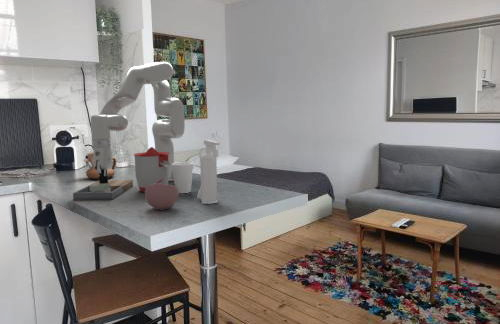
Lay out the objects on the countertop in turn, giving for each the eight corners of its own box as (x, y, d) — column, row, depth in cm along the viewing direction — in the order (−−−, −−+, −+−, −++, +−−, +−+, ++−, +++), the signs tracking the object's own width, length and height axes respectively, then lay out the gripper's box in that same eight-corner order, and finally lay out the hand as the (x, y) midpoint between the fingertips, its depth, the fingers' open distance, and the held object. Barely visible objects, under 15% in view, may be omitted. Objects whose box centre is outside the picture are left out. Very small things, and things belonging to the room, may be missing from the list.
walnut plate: (133, 186, 182) (132, 180, 182) (123, 192, 168) (123, 185, 168) (100, 186, 182) (99, 180, 182) (87, 192, 168) (87, 186, 168)
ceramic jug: (91, 182, 194) (89, 154, 192) (79, 178, 203) (78, 152, 202) (123, 178, 207) (122, 152, 205) (110, 174, 216) (110, 150, 215)
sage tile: (109, 187, 165) (109, 183, 165) (103, 190, 159) (103, 186, 159) (96, 187, 165) (95, 183, 165) (89, 190, 160) (89, 186, 159)
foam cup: (173, 195, 162) (172, 165, 160) (171, 191, 171) (170, 162, 169) (195, 194, 164) (194, 164, 163) (192, 189, 173) (192, 161, 171)
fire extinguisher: (205, 197, 157) (203, 137, 152) (224, 203, 148) (223, 140, 144) (191, 200, 152) (190, 139, 148) (211, 207, 144) (210, 142, 139)
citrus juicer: (156, 195, 161) (154, 149, 159) (128, 191, 170) (125, 147, 168) (180, 189, 175) (179, 146, 172) (153, 185, 184) (151, 144, 181)
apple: (180, 204, 146) (179, 175, 144) (175, 213, 134) (174, 181, 133) (149, 205, 146) (148, 176, 144) (142, 213, 134) (140, 182, 132)
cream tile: (110, 191, 167) (110, 187, 166) (105, 194, 161) (104, 190, 160) (97, 191, 167) (97, 187, 167) (91, 194, 161) (91, 190, 161)
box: (123, 192, 168) (122, 186, 168) (112, 199, 155) (111, 192, 154) (87, 192, 168) (87, 186, 168) (73, 200, 155) (72, 193, 154)
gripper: (103, 144, 157) (106, 188, 159) (116, 141, 171) (118, 181, 174) (85, 145, 157) (88, 188, 159) (99, 142, 171) (102, 181, 174)
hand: (103, 184), depth 167 cm, fingers closed
